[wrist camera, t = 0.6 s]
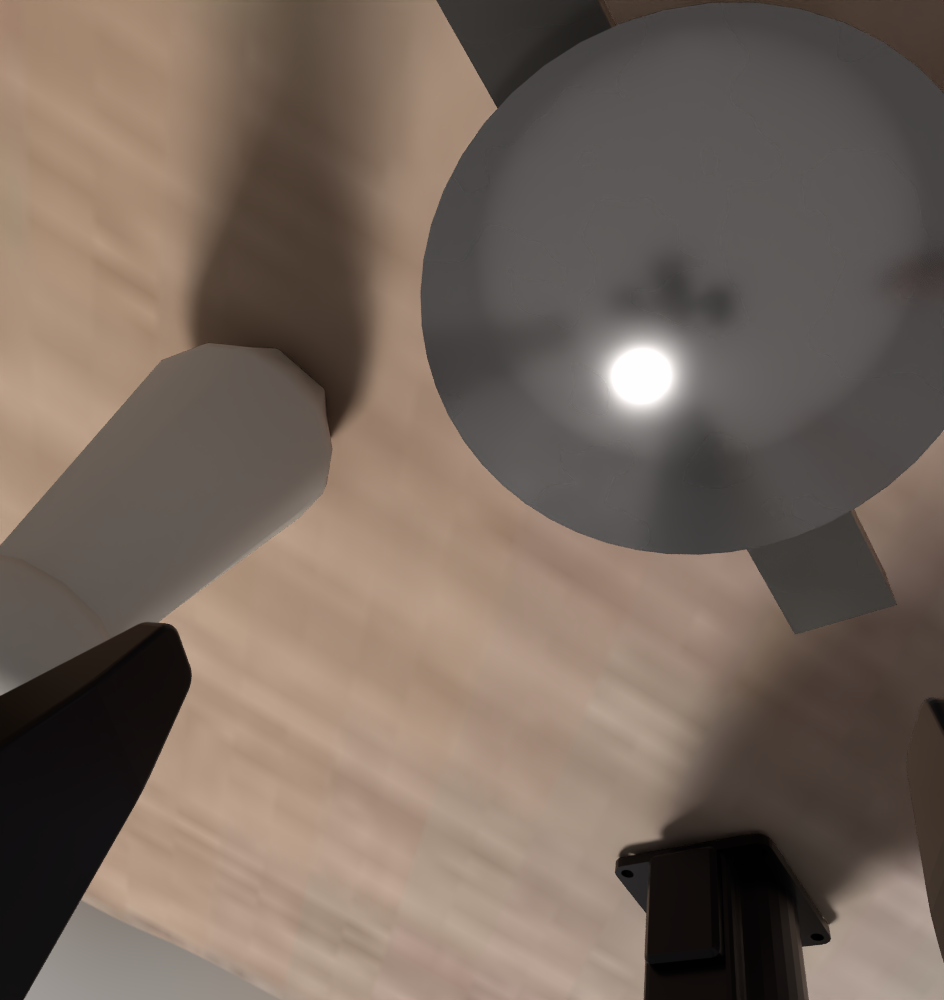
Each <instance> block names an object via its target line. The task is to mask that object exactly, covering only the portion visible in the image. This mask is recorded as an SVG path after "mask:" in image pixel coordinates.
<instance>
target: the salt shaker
mask: <svg viewBox="0 0 944 1000" xmlns="http://www.w3.org/2000/svg"><path fill="white" fill-rule="evenodd" d="M331 455H332V443H331V438H330V432H329V427H328V421H327V416H326V402H325V389H324V388H322V387H321V386H320V385H319V384H318V383H317V382H316V381H314V380H313V379H312V378H311V377H310V376H309V375H308V374H306V373H305V372H304V371H303V370H302V369H301V368H299V367H298V366H297V365H296V364H295V363H294V362H293V361H291V360H290V359H289V358H288V357H287V356H286V355H285V354H283V353H282V352H281V351H280V350H279V349H274V348H253V347H243V346H233V345H224V344H215V343H206V344H204V345H201V346H198V347H195V348H192V349H190V350H187V351H184V352H182V353H179V354H177V355H174V356H171V357H169V358H166V359H163V360H161V362H160V363H159V364H158V365H157V366H156V367H155V368H154V370H153V371H152V372H151V373H150V374H149V375H148V376H147V378H146V379H145V380H144V381H143V382H142V383H141V384H140V386H139V387H138V388H137V389H136V390H135V391H134V393H133V394H132V395H131V396H130V397H129V398H128V399H127V401H126V402H125V403H124V404H123V405H122V406H121V407H120V409H119V410H118V411H117V412H116V413H115V414H114V415H113V417H112V418H111V419H110V420H109V421H108V422H107V424H106V425H105V426H104V427H103V428H102V429H101V430H100V432H99V433H98V434H97V435H96V436H95V437H94V438H93V440H92V441H91V442H90V443H89V444H88V445H87V446H86V448H85V449H84V450H83V451H82V452H81V453H80V455H79V456H78V457H77V458H76V459H75V460H74V461H73V463H72V464H71V465H70V466H69V467H68V468H67V469H66V471H65V472H64V473H63V474H62V475H61V476H60V477H59V479H58V480H57V481H56V482H55V483H54V484H53V486H52V487H51V488H50V489H49V490H48V491H47V492H46V494H45V495H44V496H43V497H42V498H41V499H40V500H39V502H38V503H37V504H36V505H35V506H34V507H33V508H32V510H31V511H30V512H29V513H28V514H27V515H26V517H25V518H24V519H23V520H22V521H21V522H20V523H19V525H18V526H17V527H16V528H15V529H14V530H13V531H12V533H11V534H10V535H9V536H8V537H7V538H6V539H5V541H4V542H3V543H2V544H1V545H0V695H2V694H4V693H6V692H8V691H10V690H12V689H14V688H16V687H18V686H20V685H22V684H24V683H26V682H27V681H29V680H31V679H33V678H35V677H37V676H39V675H41V674H43V673H45V672H47V671H49V670H51V669H53V668H54V667H56V666H58V665H60V664H62V663H64V662H66V661H68V660H70V659H72V658H74V657H76V656H78V655H80V654H81V653H83V652H85V651H87V650H89V649H91V648H93V647H95V646H97V645H99V644H101V643H103V642H105V641H106V640H108V639H110V638H112V637H114V636H116V635H118V634H120V633H122V632H124V631H126V630H128V629H130V628H132V627H133V626H135V625H137V624H140V623H143V622H155V623H158V622H159V621H160V620H162V619H163V618H164V617H166V616H167V615H168V614H169V613H171V612H172V611H173V610H175V609H176V608H177V607H179V606H180V605H181V604H183V603H184V602H185V601H187V600H188V599H189V598H191V597H192V596H194V595H195V594H196V593H198V592H199V591H200V590H202V589H203V588H204V587H206V586H207V585H209V584H210V583H211V582H213V581H214V580H215V579H217V578H218V577H219V576H221V575H222V574H224V573H225V572H226V571H228V570H229V569H230V568H232V567H233V566H234V565H236V564H237V563H239V562H240V561H241V560H243V559H244V558H245V557H247V556H248V555H249V554H251V553H252V552H254V551H255V550H256V549H258V548H259V547H260V546H262V545H263V544H264V543H266V542H267V541H269V540H270V539H271V538H273V537H274V536H275V535H277V534H278V533H279V532H281V531H282V530H284V529H285V528H286V527H288V526H289V525H290V524H292V523H293V522H294V521H296V520H297V519H299V518H300V517H301V515H302V514H303V513H304V512H305V511H306V510H307V509H308V508H309V507H310V506H311V505H312V504H313V503H314V502H315V501H316V500H317V499H318V498H319V497H320V496H321V495H322V494H323V491H324V489H325V487H326V484H327V479H328V473H329V467H330V461H331Z"/></svg>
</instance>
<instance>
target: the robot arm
mask: <svg viewBox="0 0 944 1000" xmlns="http://www.w3.org/2000/svg"><path fill="white" fill-rule="evenodd" d="M191 677H192V673H191V667H190V664H189V662H188V659H187V656H186V653H185V650H184V648H183V645H182V642H181V639H180V636H179V634H178V632H177V630H176V629H175V628H174V627H173V626H172V625H170V624H166V623H155V622H143V623H140V624H137V625H135V626H133V627H132V628H130V629H128V630H126V631H124V632H122V633H120V634H118V635H116V636H114V637H112V638H110V639H108V640H106V641H105V642H103V643H101V644H99V645H97V646H95V647H93V648H91V649H89V650H87V651H85V652H83V653H81V654H80V655H78V656H76V657H74V658H72V659H70V660H68V661H66V662H64V663H62V664H60V665H58V666H56V667H54V668H53V669H51V670H49V671H47V672H45V673H43V674H41V675H39V676H37V677H35V678H33V679H31V680H29V681H27V682H26V683H24V684H22V685H20V686H18V687H16V688H14V689H12V690H10V691H8V692H6V693H4V694H2V695H0V1000H24V998H25V997H26V995H27V993H28V991H29V990H30V988H31V986H32V984H33V983H34V981H35V979H36V977H37V976H38V974H39V972H40V970H41V969H42V967H43V965H44V963H45V962H46V960H47V958H48V956H49V955H50V953H51V951H52V949H53V948H54V946H55V944H56V942H57V940H58V939H59V937H60V935H61V934H62V932H63V930H64V928H65V927H66V925H67V923H68V921H69V920H70V918H71V916H72V914H73V913H74V911H75V909H76V907H77V905H78V904H79V902H80V900H81V899H82V897H83V895H84V893H85V892H86V890H87V888H88V886H89V885H90V883H91V881H92V879H93V878H94V876H95V874H96V872H97V871H98V869H99V867H100V865H101V864H102V862H103V860H104V858H105V857H106V855H107V853H108V851H109V850H110V848H111V846H112V844H113V843H114V841H115V839H116V837H117V836H118V834H119V832H120V830H121V829H122V827H123V825H124V823H125V822H126V820H127V818H128V816H129V815H130V813H131V811H132V809H133V808H134V806H135V804H136V802H137V800H138V798H139V797H140V795H141V793H142V791H143V789H144V787H145V785H146V783H147V781H148V779H149V777H150V775H151V773H152V770H153V768H154V766H155V764H156V761H157V759H158V757H159V755H160V753H161V750H162V748H163V746H164V744H165V741H166V739H167V737H168V735H169V733H170V730H171V728H172V726H173V724H174V721H175V719H176V717H177V715H178V713H179V710H180V708H181V706H182V704H183V701H184V699H185V697H186V695H187V693H188V690H189V688H190V684H191ZM907 773H908V780H909V786H910V792H911V798H912V805H913V811H914V817H915V823H916V829H917V836H918V842H919V848H920V854H921V860H922V866H923V873H924V879H925V885H926V891H927V896H928V902H929V907H930V913H931V917H932V921H933V925H934V929H935V933H936V937H937V941H938V944H939V948H940V951H941V955H942V958H943V962H944V698H934V697H932V698H928V699H926V700H924V702H923V703H922V705H921V707H920V710H919V713H918V717H917V720H916V724H915V727H914V731H913V734H912V738H911V741H910V745H909V749H908V754H907ZM615 874H616V876H617V877H618V878H619V879H620V881H621V882H622V883H623V885H624V886H625V887H626V888H627V890H628V891H629V892H630V893H631V895H632V896H633V897H634V898H635V900H636V901H637V902H638V904H639V905H640V906H641V907H642V909H643V910H644V911H645V912H646V935H645V982H644V1000H809V998H808V990H807V982H806V974H805V966H804V958H803V951H802V947H803V946H813V945H822V944H826V943H828V942H830V940H831V936H830V930H829V926H828V925H827V923H826V922H825V920H824V918H823V917H822V915H821V914H820V912H819V911H818V909H817V908H816V906H815V905H814V903H813V902H812V900H811V899H810V897H809V896H808V894H807V893H806V891H805V890H804V888H803V887H802V885H801V884H800V882H799V881H798V879H797V878H796V876H795V875H794V873H793V872H792V870H791V869H790V867H789V866H788V864H787V863H786V861H785V860H784V858H783V857H782V855H781V854H780V852H779V851H778V849H777V848H776V846H775V844H774V843H773V841H772V840H771V839H770V838H769V837H767V836H765V835H762V834H751V835H745V836H740V837H734V838H728V839H723V840H717V841H712V842H706V843H700V844H695V845H689V846H684V847H678V848H672V849H667V850H661V851H655V852H650V853H644V854H639V855H633V856H627V857H622V858H619V859H618V860H617V861H616V868H615Z"/></svg>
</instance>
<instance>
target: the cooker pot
mask: <svg viewBox="0 0 944 1000" xmlns="http://www.w3.org/2000/svg"><path fill="white" fill-rule="evenodd" d="M437 2H438V4H439V6H440V7H441V9H442V11H443V13H444V14H445V16H446V18H447V20H448V22H449V23H450V25H451V27H452V29H453V30H454V32H455V34H456V36H457V37H458V39H459V41H460V43H461V45H462V46H463V48H464V50H465V52H466V53H467V55H468V57H469V59H470V60H471V62H472V64H473V66H474V68H475V69H476V71H477V73H478V75H479V76H480V78H481V80H482V82H483V83H484V85H485V87H486V89H487V91H488V92H489V94H490V96H491V98H492V99H493V101H494V103H495V105H496V106H497V108H498V109H497V110H496V111H495V112H494V113H493V114H492V115H491V116H490V118H489V119H488V120H487V121H486V122H485V123H484V124H483V126H482V127H481V129H480V130H479V132H478V133H477V134H476V136H475V137H474V139H473V140H472V142H471V143H470V145H469V146H468V147H467V149H466V150H465V152H464V153H463V155H462V156H461V158H460V160H459V162H458V164H457V166H456V168H455V170H454V172H453V173H452V175H451V177H450V179H449V181H448V183H447V185H446V187H445V189H444V191H443V194H442V197H441V199H440V202H439V205H438V208H437V211H436V213H435V216H434V219H433V222H432V224H431V229H430V233H429V238H428V242H427V247H426V251H425V256H424V261H423V273H422V284H421V315H422V330H423V336H424V342H425V348H426V354H427V359H428V362H429V365H430V369H431V372H432V375H433V379H434V382H435V385H436V388H437V390H438V393H439V395H440V397H441V399H442V402H443V404H444V406H445V408H446V411H447V413H448V415H449V417H450V419H451V420H452V422H453V424H454V425H455V427H456V429H457V430H458V432H459V434H460V435H461V437H462V439H463V440H464V442H465V443H466V444H467V446H468V447H469V448H470V449H471V451H472V452H473V453H474V455H475V456H476V457H477V458H478V460H479V461H480V462H481V464H482V465H483V466H484V467H485V468H486V469H487V470H488V471H489V472H490V473H491V474H492V475H493V476H494V477H495V478H496V479H497V480H498V481H499V482H500V483H501V484H502V485H503V486H504V487H506V488H507V489H508V490H509V491H511V492H512V493H513V494H514V495H516V496H517V497H518V498H519V499H520V500H522V501H523V502H524V503H525V504H527V505H529V506H530V507H532V508H533V509H535V510H537V511H538V512H540V513H541V514H543V515H544V516H546V517H548V518H549V519H551V520H553V521H555V522H557V523H559V524H561V525H563V526H565V527H567V528H569V529H571V530H574V531H576V532H578V533H580V534H583V535H586V536H589V537H592V538H595V539H597V540H600V541H603V542H606V543H610V544H614V545H618V546H622V547H627V548H631V549H635V550H642V551H649V552H657V553H665V554H697V555H699V554H711V553H724V552H733V551H739V550H744V549H747V550H748V552H749V554H750V556H751V557H752V559H753V561H754V563H755V564H756V566H757V568H758V570H759V572H760V573H761V575H762V577H763V579H764V580H765V582H766V584H767V586H768V587H769V589H770V591H771V593H772V595H773V596H774V598H775V600H776V602H777V603H778V605H779V607H780V609H781V610H782V612H783V614H784V616H785V618H786V619H787V621H788V623H789V625H790V626H791V628H792V630H793V632H794V633H795V634H798V633H802V632H805V631H809V630H812V629H815V628H819V627H822V626H826V625H829V624H833V623H836V622H839V621H843V620H846V619H850V618H853V617H856V616H860V615H863V614H867V613H870V612H874V611H877V610H880V609H884V608H887V607H891V606H894V605H897V604H896V601H895V598H894V595H893V593H892V590H891V587H890V584H889V582H888V579H887V576H886V573H885V571H884V569H883V567H882V565H881V563H880V561H879V559H878V557H877V555H876V553H875V551H874V549H873V547H872V545H871V543H870V540H869V538H868V536H867V534H866V532H865V530H864V528H863V526H862V524H861V522H860V520H859V518H858V516H857V514H856V512H855V510H854V509H855V508H856V507H858V506H860V505H861V504H863V503H864V502H865V501H867V500H868V499H870V498H871V497H873V496H874V495H876V494H877V493H878V492H880V491H881V490H883V489H884V488H886V487H887V486H888V485H889V484H891V483H892V482H893V481H894V480H895V479H896V478H898V477H899V476H900V475H901V474H902V473H903V472H904V471H906V470H907V469H908V468H909V467H910V466H911V465H912V464H914V463H915V462H916V461H917V460H918V458H919V457H920V456H921V455H922V454H923V453H924V452H925V451H926V450H927V449H928V447H929V446H930V445H931V444H932V443H933V442H934V441H935V440H936V439H937V437H938V436H939V435H940V434H941V433H942V431H943V430H944V93H943V92H942V91H941V90H940V89H939V88H938V87H937V86H936V85H935V84H934V83H933V82H932V81H931V80H930V79H929V78H928V77H927V75H926V74H925V73H924V72H923V71H922V70H921V69H920V68H918V67H917V66H916V65H914V64H913V63H911V62H910V61H909V60H907V59H906V58H905V57H903V56H902V55H901V54H899V53H898V52H897V51H895V50H894V49H892V48H891V47H890V46H888V45H887V44H886V43H884V42H882V41H880V40H878V39H876V38H874V37H872V36H870V35H868V34H866V33H864V32H862V31H860V30H858V29H856V28H854V27H852V26H850V25H848V24H846V23H844V22H841V21H838V20H835V19H831V18H828V17H825V16H822V15H819V14H815V13H812V12H809V11H806V10H803V9H797V8H790V7H783V6H776V5H769V4H763V3H706V4H700V5H693V6H687V7H681V8H674V9H668V10H663V11H660V12H656V13H653V14H650V15H647V16H643V17H640V18H637V19H634V20H630V21H627V22H624V23H621V24H619V25H615V23H614V21H613V19H612V17H611V15H610V12H609V10H608V8H607V6H606V4H605V2H604V0H437Z"/></svg>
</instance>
